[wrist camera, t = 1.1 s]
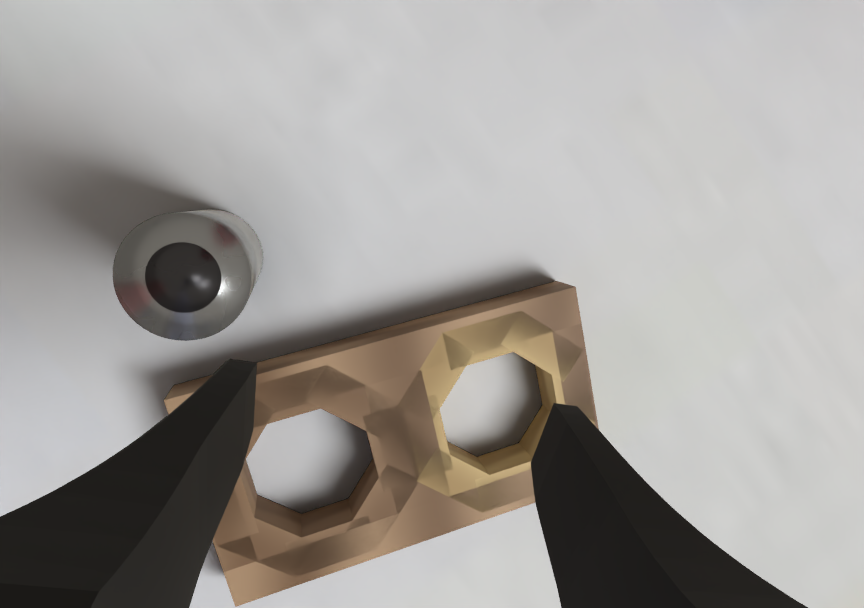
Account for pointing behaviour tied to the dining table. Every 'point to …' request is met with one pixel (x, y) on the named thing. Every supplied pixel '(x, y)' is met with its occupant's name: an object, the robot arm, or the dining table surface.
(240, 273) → the bushing
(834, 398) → the dining table surface
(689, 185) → the dining table surface
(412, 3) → the dining table surface
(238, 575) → the jig plate
